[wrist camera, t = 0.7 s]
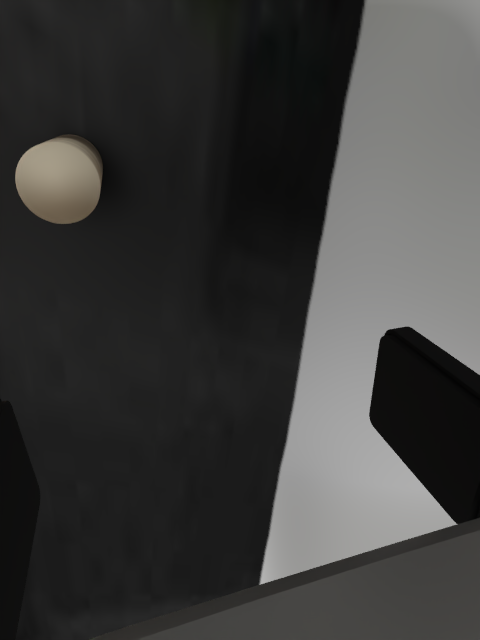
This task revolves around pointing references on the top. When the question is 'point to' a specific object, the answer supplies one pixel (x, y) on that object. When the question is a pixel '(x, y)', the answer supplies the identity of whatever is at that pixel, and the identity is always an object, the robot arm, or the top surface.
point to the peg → (60, 179)
